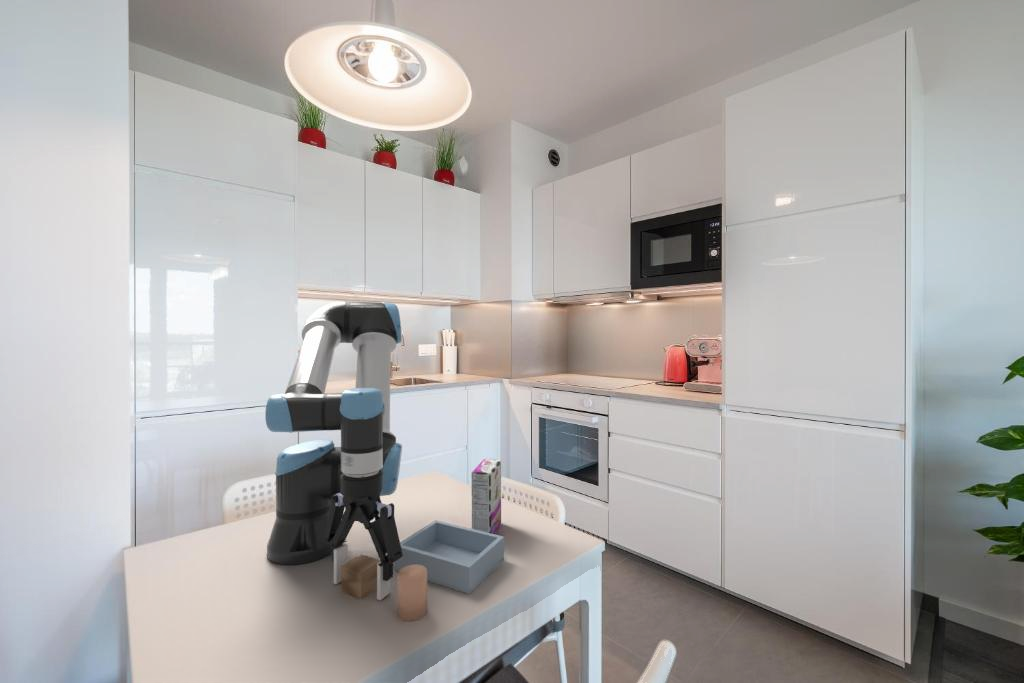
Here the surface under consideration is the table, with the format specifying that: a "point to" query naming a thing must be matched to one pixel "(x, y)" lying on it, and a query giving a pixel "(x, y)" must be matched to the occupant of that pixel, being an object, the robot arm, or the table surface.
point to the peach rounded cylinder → (412, 592)
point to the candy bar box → (486, 496)
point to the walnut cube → (359, 576)
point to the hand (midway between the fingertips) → (361, 587)
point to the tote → (453, 554)
